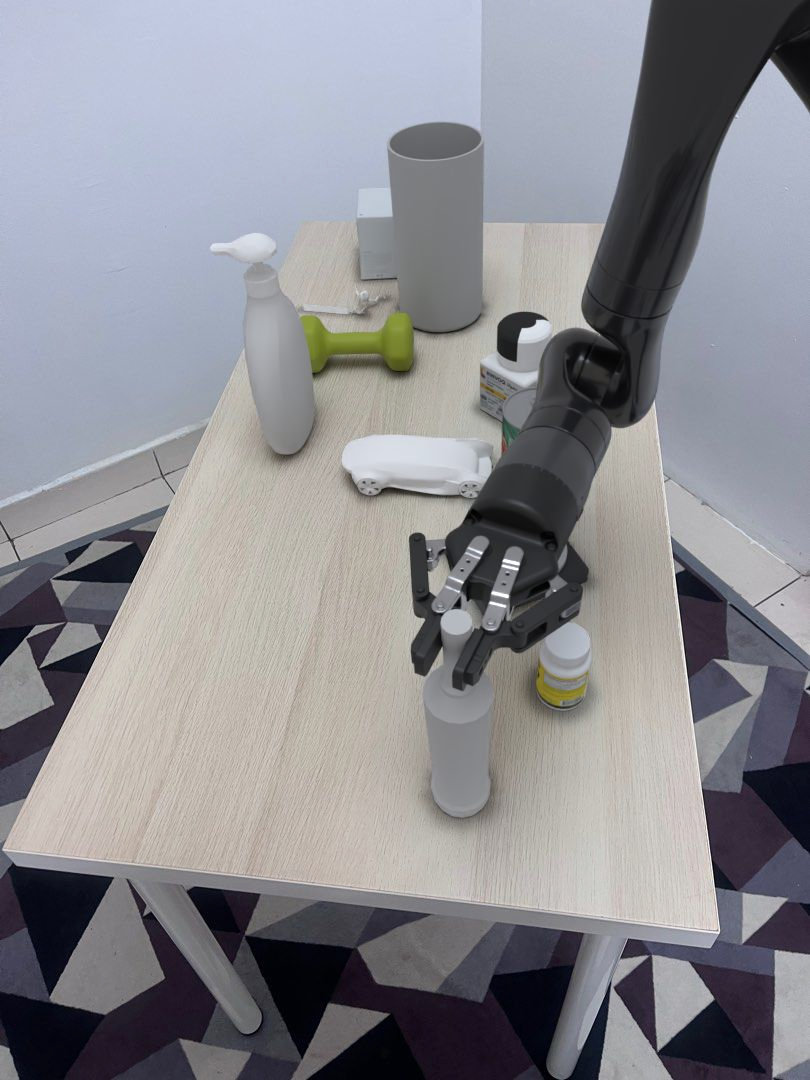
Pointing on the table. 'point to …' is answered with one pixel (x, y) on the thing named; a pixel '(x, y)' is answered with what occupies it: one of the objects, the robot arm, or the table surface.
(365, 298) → the action figure
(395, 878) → the table surface
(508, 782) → the table surface
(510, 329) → the container
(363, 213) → the cosmetics box
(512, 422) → the canned tomato
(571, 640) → the supplement bottle
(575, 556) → the scale
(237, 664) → the table surface
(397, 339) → the dumbbell
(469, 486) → the toy car
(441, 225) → the cylinder vase
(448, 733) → the bottle
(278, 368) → the soap bottle
